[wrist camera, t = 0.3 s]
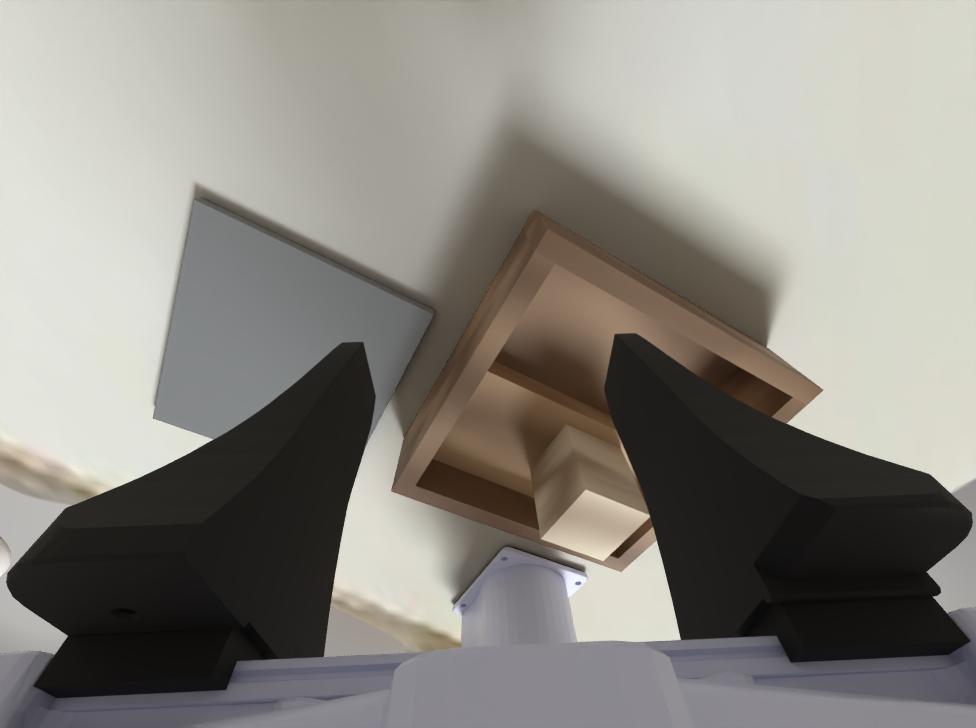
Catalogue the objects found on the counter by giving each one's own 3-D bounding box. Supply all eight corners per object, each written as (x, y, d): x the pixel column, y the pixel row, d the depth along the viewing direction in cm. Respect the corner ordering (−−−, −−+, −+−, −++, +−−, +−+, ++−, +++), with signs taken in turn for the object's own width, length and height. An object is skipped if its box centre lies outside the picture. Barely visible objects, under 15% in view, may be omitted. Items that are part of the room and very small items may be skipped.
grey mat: (348, 478, 28) (345, 484, 28) (159, 412, 25) (152, 418, 25) (434, 310, 22) (433, 314, 22) (201, 197, 19) (194, 199, 19)
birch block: (582, 490, 27) (603, 561, 22) (529, 469, 26) (540, 539, 21) (620, 448, 25) (651, 515, 21) (566, 424, 24) (585, 489, 20)
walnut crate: (602, 515, 31) (621, 571, 27) (403, 438, 27) (391, 491, 23) (767, 347, 24) (823, 390, 20) (533, 209, 20) (547, 229, 16)
